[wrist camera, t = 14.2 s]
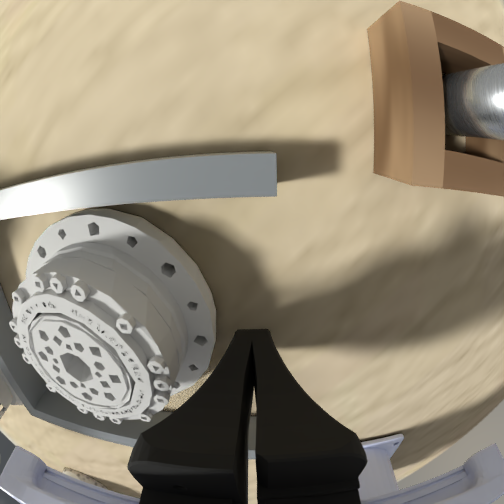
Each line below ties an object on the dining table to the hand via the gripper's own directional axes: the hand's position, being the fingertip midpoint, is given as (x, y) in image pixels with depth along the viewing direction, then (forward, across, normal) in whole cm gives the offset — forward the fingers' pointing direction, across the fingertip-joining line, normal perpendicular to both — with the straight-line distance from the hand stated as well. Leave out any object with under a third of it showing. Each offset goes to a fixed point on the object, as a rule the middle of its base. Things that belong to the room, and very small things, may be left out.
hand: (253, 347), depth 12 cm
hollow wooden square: (+1, -8, -10) cm, 13 cm away
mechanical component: (+2, +6, -1) cm, 7 cm away
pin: (+1, -8, -10) cm, 13 cm away
